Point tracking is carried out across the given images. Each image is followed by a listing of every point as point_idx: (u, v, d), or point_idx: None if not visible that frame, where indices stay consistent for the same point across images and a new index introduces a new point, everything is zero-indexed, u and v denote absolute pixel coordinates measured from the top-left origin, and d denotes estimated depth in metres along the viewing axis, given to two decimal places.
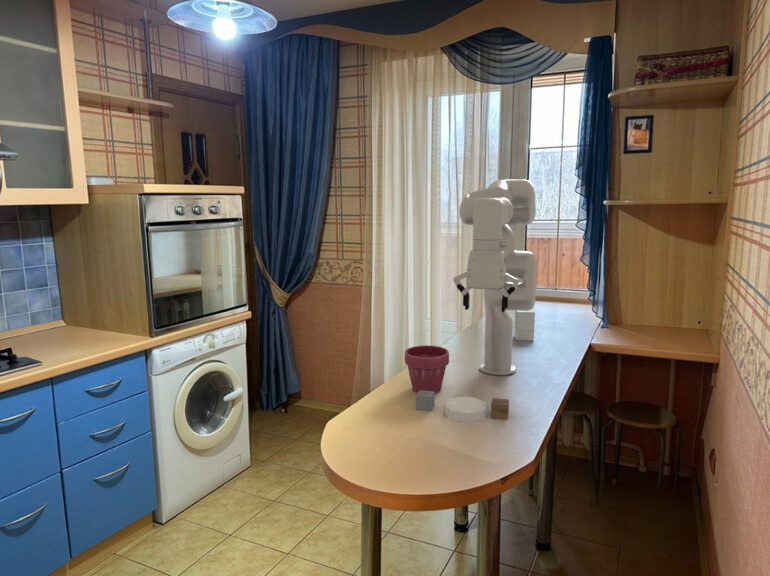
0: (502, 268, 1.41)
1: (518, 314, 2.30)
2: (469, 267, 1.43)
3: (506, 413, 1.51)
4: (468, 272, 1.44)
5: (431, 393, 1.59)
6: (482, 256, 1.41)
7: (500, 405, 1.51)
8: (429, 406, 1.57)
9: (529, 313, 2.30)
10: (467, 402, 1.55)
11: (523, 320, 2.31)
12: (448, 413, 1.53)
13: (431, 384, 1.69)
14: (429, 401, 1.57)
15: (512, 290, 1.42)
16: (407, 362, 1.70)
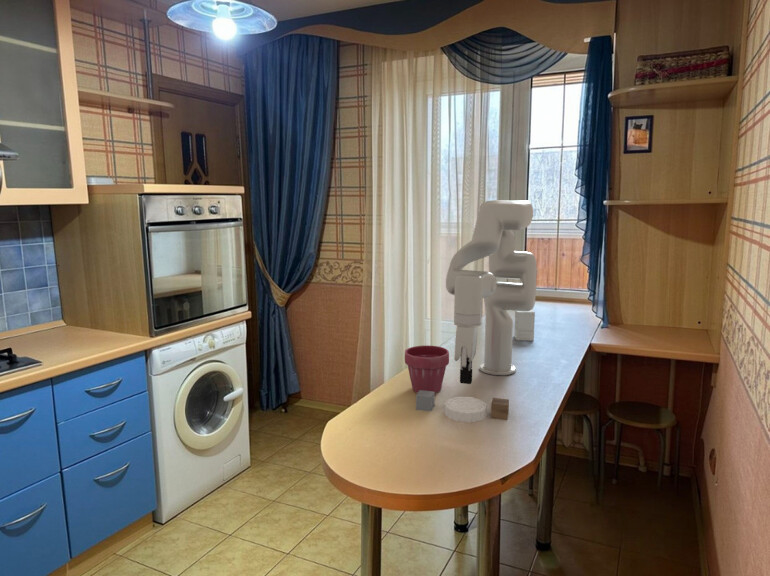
0: None
1: (518, 314, 2.30)
2: (472, 342, 1.47)
3: (506, 413, 1.51)
4: (472, 347, 1.47)
5: (431, 393, 1.59)
6: (476, 329, 1.50)
7: (500, 405, 1.51)
8: (429, 406, 1.57)
9: (529, 313, 2.30)
10: (467, 402, 1.55)
11: (523, 320, 2.31)
12: (448, 413, 1.53)
13: (431, 384, 1.69)
14: (429, 401, 1.57)
15: None
16: (407, 362, 1.70)
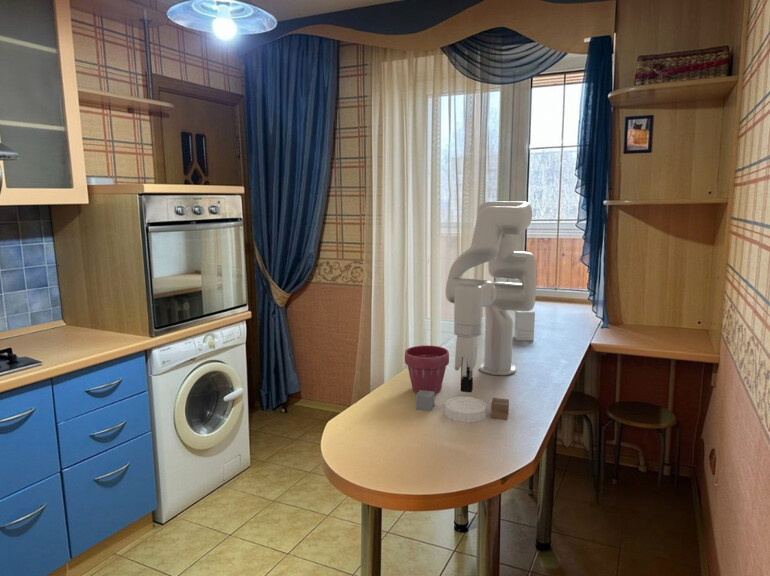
0: None
1: (518, 314, 2.30)
2: (472, 352, 1.48)
3: (506, 413, 1.51)
4: (472, 357, 1.48)
5: (431, 393, 1.59)
6: (476, 338, 1.50)
7: (500, 405, 1.51)
8: (429, 406, 1.57)
9: (529, 313, 2.30)
10: (467, 402, 1.55)
11: (523, 320, 2.31)
12: (448, 413, 1.53)
13: (431, 384, 1.69)
14: (429, 401, 1.57)
15: None
16: (407, 362, 1.70)
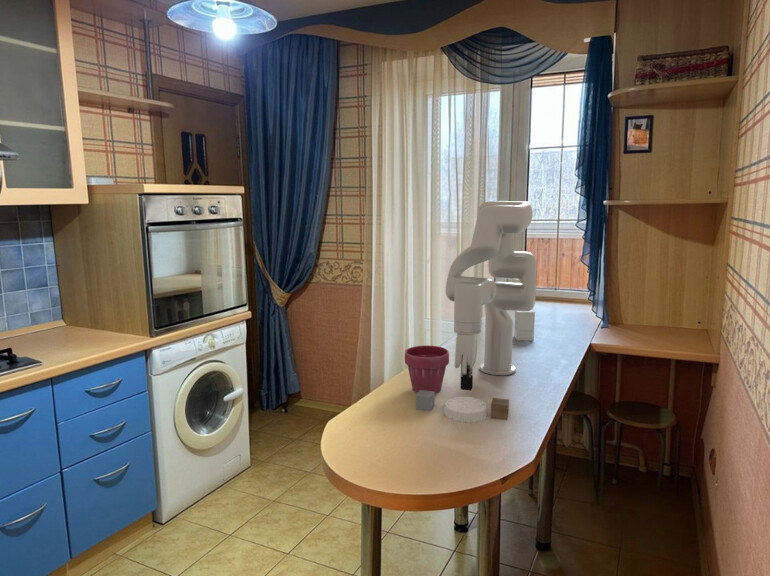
0: None
1: (518, 314, 2.30)
2: (472, 350, 1.48)
3: (506, 413, 1.51)
4: (472, 355, 1.48)
5: (431, 393, 1.59)
6: (476, 336, 1.50)
7: (500, 405, 1.51)
8: (429, 406, 1.57)
9: (529, 313, 2.30)
10: (467, 402, 1.55)
11: (523, 320, 2.31)
12: (448, 413, 1.53)
13: (431, 384, 1.69)
14: (429, 401, 1.57)
15: None
16: (407, 362, 1.70)
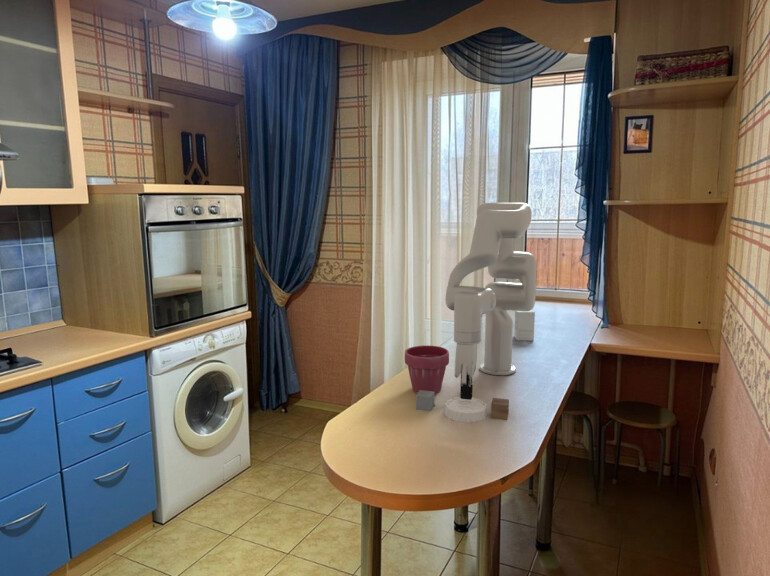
0: None
1: (518, 314, 2.30)
2: (472, 360, 1.48)
3: (506, 413, 1.51)
4: (472, 365, 1.48)
5: (431, 393, 1.59)
6: (476, 346, 1.51)
7: (500, 405, 1.51)
8: (429, 406, 1.57)
9: (529, 313, 2.30)
10: (467, 402, 1.55)
11: (523, 320, 2.31)
12: (448, 413, 1.53)
13: (431, 384, 1.69)
14: (429, 401, 1.57)
15: None
16: (407, 362, 1.70)
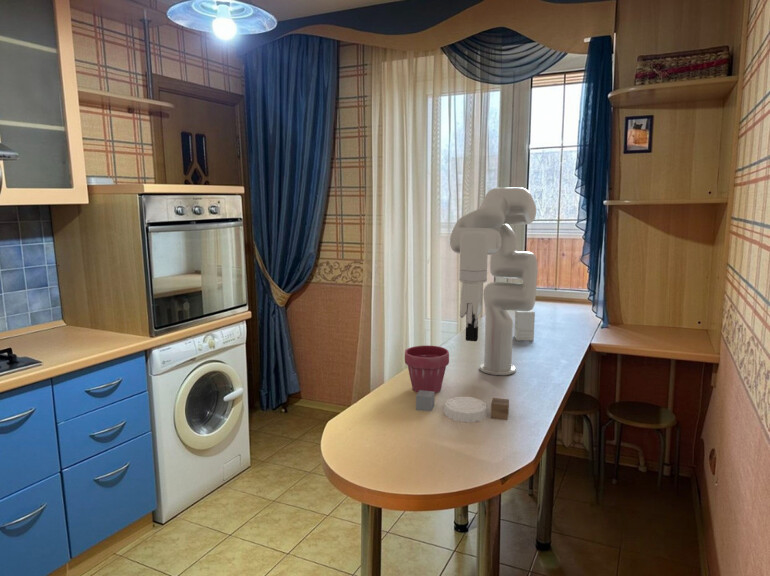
0: None
1: (518, 314, 2.30)
2: (478, 299, 1.46)
3: (506, 413, 1.51)
4: (477, 304, 1.46)
5: (431, 393, 1.59)
6: (481, 285, 1.49)
7: (500, 405, 1.51)
8: (429, 406, 1.57)
9: (529, 313, 2.30)
10: (467, 402, 1.55)
11: (523, 320, 2.31)
12: (448, 413, 1.53)
13: (431, 384, 1.69)
14: (429, 401, 1.57)
15: None
16: (407, 362, 1.70)
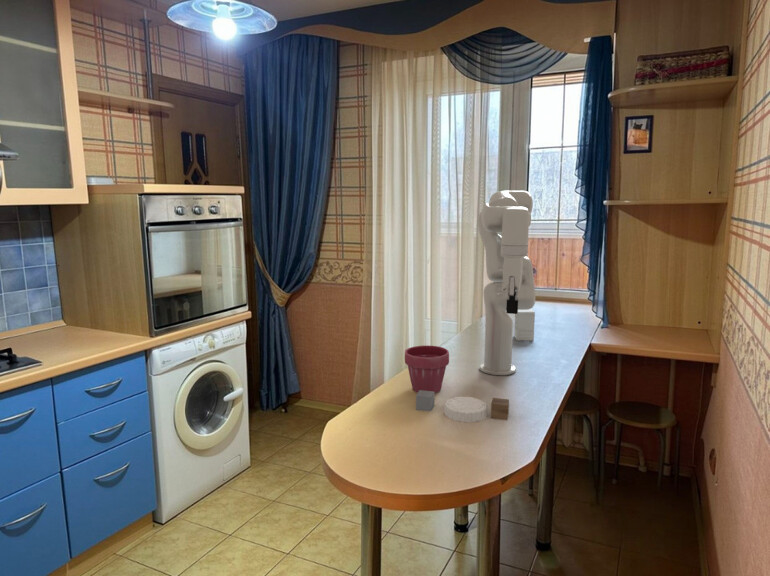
0: None
1: (518, 314, 2.30)
2: (520, 272, 1.54)
3: (506, 413, 1.51)
4: (519, 277, 1.54)
5: (431, 393, 1.59)
6: (522, 260, 1.57)
7: (500, 405, 1.51)
8: (429, 406, 1.57)
9: (529, 313, 2.30)
10: (467, 402, 1.55)
11: (523, 320, 2.31)
12: (448, 413, 1.53)
13: (431, 384, 1.69)
14: (429, 401, 1.57)
15: None
16: (407, 362, 1.70)
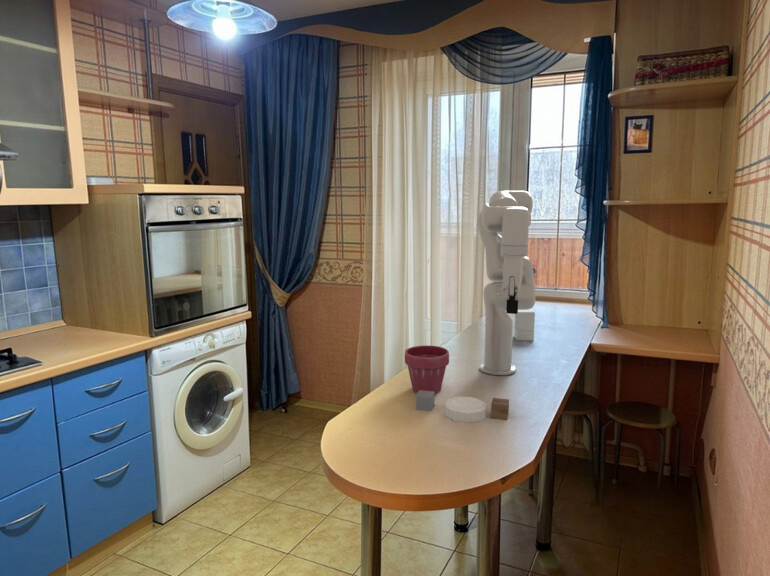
0: None
1: (518, 314, 2.30)
2: (520, 272, 1.54)
3: (506, 413, 1.51)
4: (519, 277, 1.54)
5: (431, 393, 1.59)
6: (522, 260, 1.57)
7: (500, 405, 1.51)
8: (429, 406, 1.57)
9: (529, 313, 2.30)
10: (467, 402, 1.55)
11: (523, 320, 2.31)
12: (448, 413, 1.53)
13: (431, 384, 1.69)
14: (429, 401, 1.57)
15: None
16: (407, 362, 1.70)
